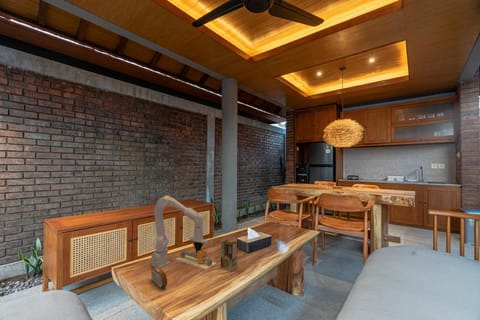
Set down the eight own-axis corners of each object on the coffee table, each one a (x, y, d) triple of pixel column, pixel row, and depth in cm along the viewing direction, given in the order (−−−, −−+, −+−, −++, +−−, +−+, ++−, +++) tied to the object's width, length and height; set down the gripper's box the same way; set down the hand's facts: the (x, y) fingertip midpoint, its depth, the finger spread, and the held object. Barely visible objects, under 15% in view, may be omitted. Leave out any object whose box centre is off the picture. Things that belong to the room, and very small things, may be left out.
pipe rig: (216, 264, 145) (216, 256, 145) (206, 270, 136) (206, 261, 136) (186, 255, 159) (186, 247, 159) (175, 260, 150) (176, 252, 151)
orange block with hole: (206, 261, 146) (206, 250, 146) (201, 263, 142) (201, 252, 142) (201, 259, 148) (202, 249, 148) (197, 262, 144) (197, 251, 144)
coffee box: (237, 267, 141) (238, 242, 141) (232, 271, 135) (232, 245, 136) (225, 264, 146) (226, 239, 146) (220, 267, 140) (220, 242, 141)
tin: (167, 289, 115) (167, 273, 115) (161, 291, 113) (162, 275, 113) (155, 278, 126) (156, 263, 126) (150, 280, 124) (150, 265, 124)
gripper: (210, 233, 147) (210, 253, 146) (194, 229, 154) (194, 249, 154) (203, 235, 141) (203, 257, 140) (187, 232, 148) (186, 252, 148)
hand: (198, 253), depth 147 cm, fingers closed
